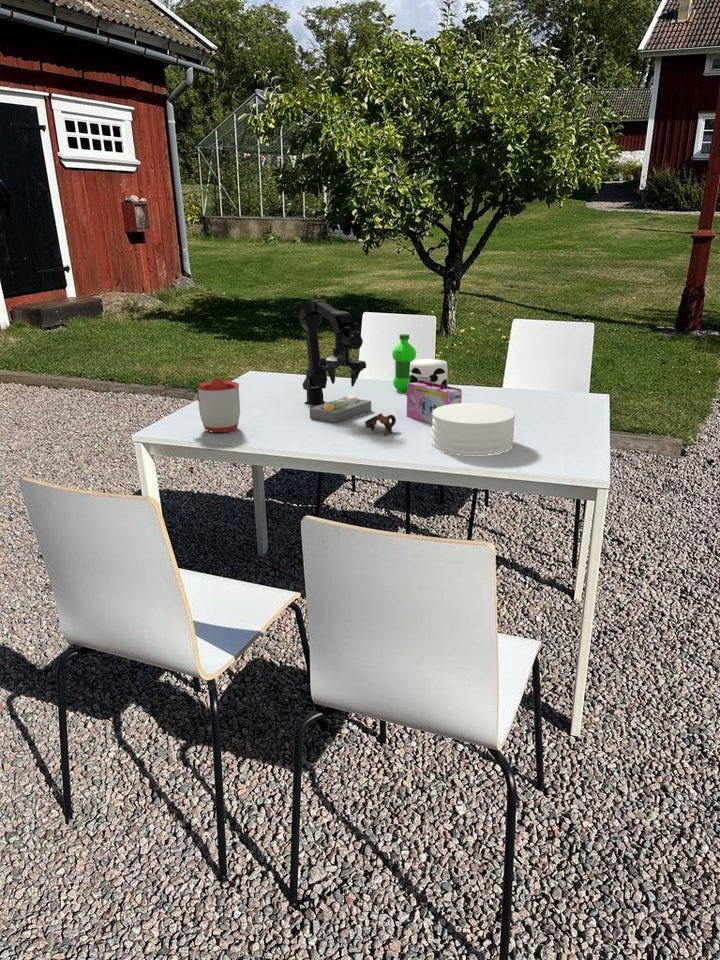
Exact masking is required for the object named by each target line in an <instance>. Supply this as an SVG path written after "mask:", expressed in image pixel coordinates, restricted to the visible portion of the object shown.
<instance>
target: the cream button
mask: <svg viewBox="0 0 720 960" xmlns="http://www.w3.org/2000/svg"><path fill="white" fill-rule="evenodd" d="M346 397H347V402H350V403H355V402H357V399H358V396H354V395H351V396H350V395H349V396H346Z"/></svg>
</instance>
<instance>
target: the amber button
mask: <svg viewBox="0 0 720 960" xmlns="http://www.w3.org/2000/svg"><path fill="white" fill-rule="evenodd" d="M323 404H324V410H328V411H332V410H335V405H334V404H325V403H323Z"/></svg>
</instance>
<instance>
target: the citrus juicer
mask: <svg viewBox="0 0 720 960" xmlns="http://www.w3.org/2000/svg"><path fill="white" fill-rule="evenodd" d="M239 389H240V384H239V382H237V381H232V380H230V381H229V380H223V379H221V378H220V377H218V376H216V377H215V378H214V379H213V381H207V382H201V383H200V384H199V383H198V387H197V390H196V391H197V393H196V394H194V397H193V399H192V401H198V410H199V416H200V420H201V423H202V425H203V428H204V429H205V431H206V430H208V431H212V432H214V433H215V432H221V433H229V432H228V431H231V432H232V431H235V430H237V428H238V425H239V421H240V416H241V415H240V414H241V404H240V403H241V401H240V390H239ZM208 431H207V432H208Z"/></svg>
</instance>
